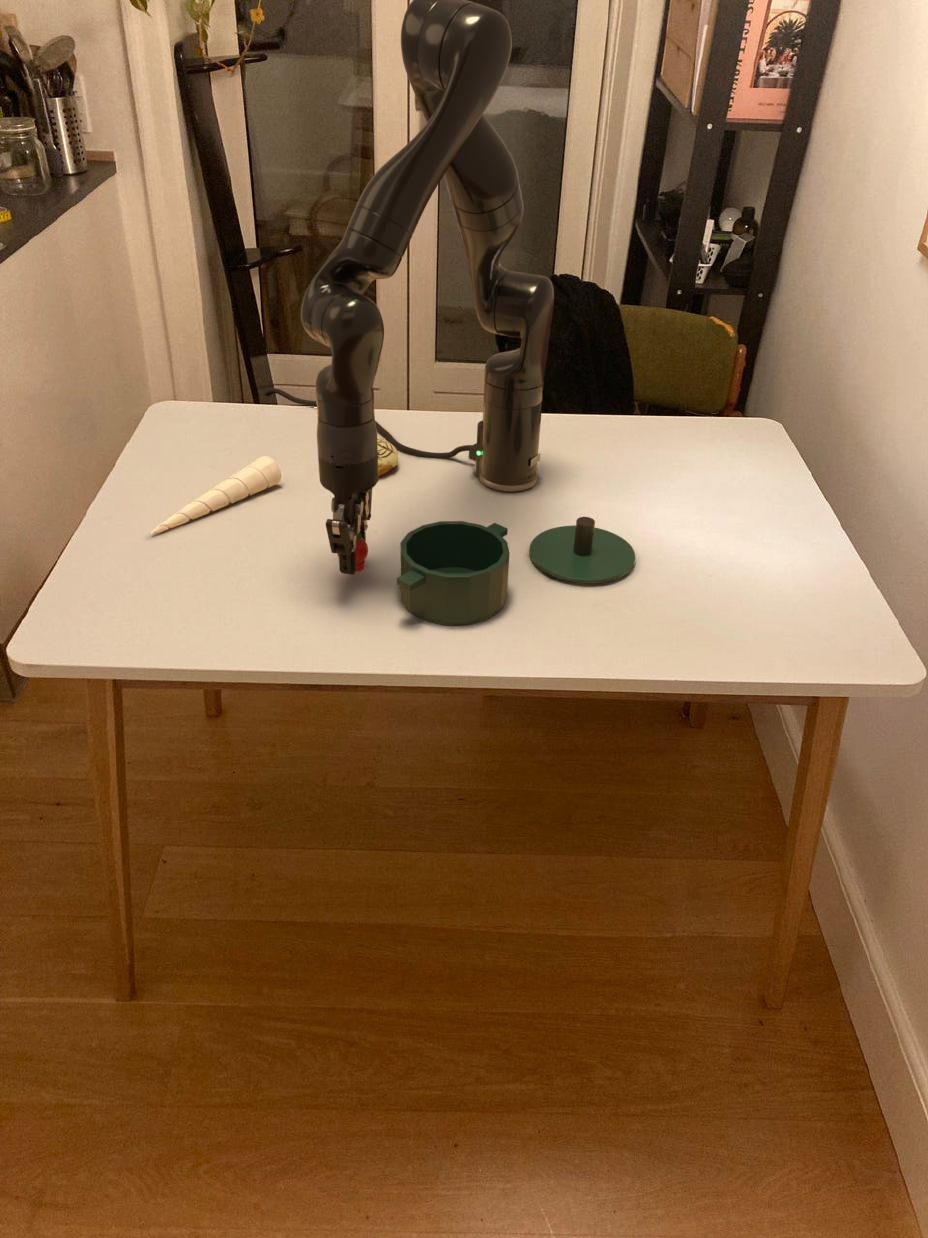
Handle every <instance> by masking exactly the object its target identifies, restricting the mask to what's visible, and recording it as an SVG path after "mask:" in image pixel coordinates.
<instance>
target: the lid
mask: <svg viewBox="0 0 928 1238" xmlns="http://www.w3.org/2000/svg"><path fill="white" fill-rule="evenodd" d="M575 521H576V522H575V524H574V525H561V526H557V527H552V528H549V529H546V530H544V531H541V532H540V533H539V534H537V535H536V536H535V537H534V538H533V539H532V540H531V541H530V544H529V550H528V551H529V556H530V558H531V561H532V562H533V563H534V564H535V566H536V567H538V568H539V569H540V570H541V571H543V572H545V573H546V574H548V575H550V576H552V577H555V578H558V579H561V580H564V581H568V582H574V583H581V584H582V583H584V584H597V583H606V582H609V581H614V580H617V579H619V578H621V577H624V576H625V575H627V574H628V573H629V572H630V571H631V570H632V569H633V568H634V566H635V563H636V554H635V550H634V548H633V546H632V545H631V544H630V543H629V542H628V541H627V540H626V539H624V538H623V537H621V536H620V535H618V534H616V533H613V532H611V531H609V530H606V529H603V528H599V527H596V520H595V519H593V518H592V517H590V516H580V517H578V518H577V519H576V520H575Z"/></svg>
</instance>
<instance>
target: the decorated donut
mask: <svg viewBox="0 0 928 1238" xmlns="http://www.w3.org/2000/svg"><path fill="white" fill-rule="evenodd" d="M377 447H378V477H380V476H383V475H385V474H387V472H389V471H390V470H392V469H393V468H394V467H396V466H397V465H398V462H399V452H398V450H397V448H396V447H395V446H394V445H392V444H391V442H390V441H389V440H385V439H383V438H377Z"/></svg>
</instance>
